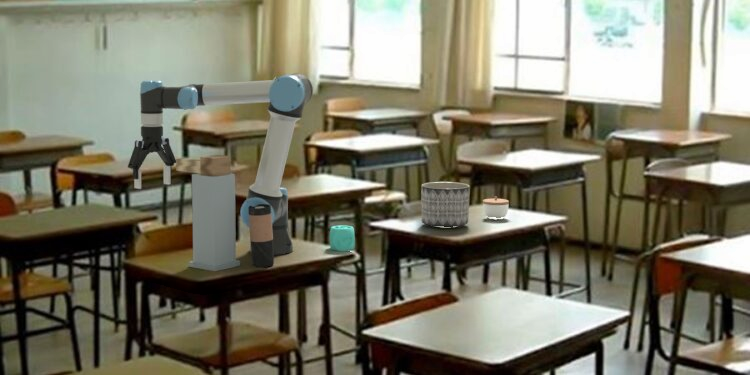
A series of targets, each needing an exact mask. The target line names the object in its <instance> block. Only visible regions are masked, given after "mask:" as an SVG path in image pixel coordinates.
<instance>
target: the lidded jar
mask: <svg viewBox="0 0 750 375" xmlns="http://www.w3.org/2000/svg"><path fill="white" fill-rule="evenodd" d="M509 203H510V201H509V200H508V199H505V198H498V196H497V195H496V196H494V198H485V199H483V200H482V210H483V213H484V216H485V217H486V216H488V217H496V218H501V217H504V218H505V217H506V216H507V214H508V211H509V206H510V205H509Z"/></svg>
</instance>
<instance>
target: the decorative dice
mask: <svg viewBox="0 0 750 375" xmlns="http://www.w3.org/2000/svg"><path fill="white" fill-rule="evenodd" d="M355 234H356V233H355V228H354V227H353V226H351V225H346V224H344V225H340V224H339V225H334V226H331V227H330V228H329V245H330V250H332V251H333V252H335V251H336V252H348V251H353V250H354V249H355V245H356V240H355V239H356V236H355Z"/></svg>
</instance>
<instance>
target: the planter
mask: <svg viewBox="0 0 750 375" xmlns="http://www.w3.org/2000/svg"><path fill="white" fill-rule="evenodd" d="M420 187H421V189H420V190H421V191H420V192H421V193H420V194H421V199H420V200H421V201H420V202H421V222H422V224H424V225H426V224H427V225H426V226H431V225H432V226H444V227H453V226H458V227H461V226H462V227H463V226H466V225H467V224H468V223H469V214H470V212H469V211H470V209H469V208H470V191H471V190H470V189H471V186H470V185H469V184H467V183H462V182H453V181H433V182H432V181H431V182H425V183H422V184H421V186H420ZM432 226H431V227H432Z"/></svg>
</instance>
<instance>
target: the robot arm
mask: <svg viewBox="0 0 750 375" xmlns="http://www.w3.org/2000/svg"><path fill="white" fill-rule="evenodd" d="M313 93H314V88H313V84H312V82H311V80H310V79H309V78H308V77H307V76H306V75H303V74H302V73H290V74H283V75H280V76H275V77H274V78H273V79H272V80H271V79H270V80H252V81H236V82H219V83H218V82H217V83H202V84H201V83H200V84H197V83H192V84H188V85H182V86H164V85H163V81H162V80H148V79H147V80H143V81H142V82H141V83H140V91H139V97H140V98H139V99H140V124H141V126H140V137H141V138H142V140H137V139H136V140H135V141H134V148H133V150H132V154H131V156H130V158H129V162H128V165H127V168H128V169H131V170H132V179H133V182H134V184H133V185H134V186H133V188H134V189H139V190H141V189H142V169H140V168H141V166H142V164H144V161H145V159H146V158H147V156H148V155H150V154H152V153H157V155H158V157H160V159H161V160H162V162H163V163H164V164H165V165H163V185H171V181H172V180H171V175H172V170H173V169H172V167H173V166H174V165H175V164H176V158H175V155H174V152H173V150H172V147H171V145H170V139H169V138H168V137H164V127H163V126H162V125H163V124H164V118H163V117H164V116H163V115H164V114H163V112H164V109H166V110H167V109H172V110H194V109H196V108H197V107H202V106H218V105H219V106H220V105H221V106H222V105H235V104H237V105H238V104H239V105H240V104H258V103H260V104H261V103H269V104H268V107H267V112H268V113H269V115H270V119H269V123H268V127H267V132H266V136H265V141H264V144H263V149H262V152H261V157H260V160H259V165H258V169H257V174H256V177H255V181H254V183H252V184H251V185H249V187H248V191H247V195H246V200H244V202H243V203H242V205H241V207H240V218H241V221H242V222H243V224H244V225H245V226H246V227H247V228H249V210H248V207H249V206H252V207H255V206H257V205H258V204H268V205H270V206H271V217H272V231H273V252H274V256H277V255H285V254H286V253H287V254H290V253H292V252H293V251H294V250H293V249H294V247H293V246H294V244H293V241H292V238H291V235H290V232H289V230H288V229H289V227H288V226H289V225H288V223H289V221H288V220H289V214H288V213H289V211H288V208H289V207H288V206H289V205H288V204H289V202H288V201H289V195H288V189H287V188H286V187H281V184H282V179H283V175H284V171H285V168H286V167H285V166H286V163H287V159H288V156H289V151H290V147H291V143H292V138H293V134H294V130H295V126H296V123H297V121H300V120H301V119H302V117H303V113H304V108H305V105H307V104H308V103H309V102H310V101H311V99H312V98H313V97H312V96H313ZM249 252H250V253H251V243H250V245H249Z"/></svg>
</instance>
